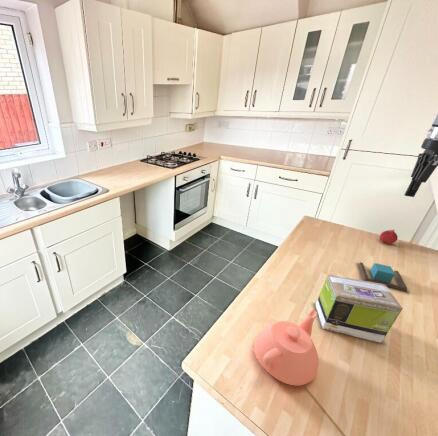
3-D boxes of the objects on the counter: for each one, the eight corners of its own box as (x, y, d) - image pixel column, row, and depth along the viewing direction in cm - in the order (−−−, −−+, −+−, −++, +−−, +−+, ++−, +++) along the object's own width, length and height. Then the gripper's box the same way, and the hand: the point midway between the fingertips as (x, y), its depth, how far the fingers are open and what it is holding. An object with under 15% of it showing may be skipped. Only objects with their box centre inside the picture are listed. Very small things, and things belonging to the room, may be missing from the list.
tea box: (366, 317, 79) (387, 283, 72) (380, 344, 70) (405, 309, 63) (313, 305, 83) (328, 272, 76) (321, 330, 75) (337, 295, 68)
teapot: (280, 321, 78) (290, 293, 72) (332, 359, 67) (348, 330, 61) (235, 358, 68) (242, 329, 62) (287, 410, 57) (302, 381, 51)
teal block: (369, 272, 97) (374, 262, 95) (385, 276, 95) (391, 266, 93) (372, 280, 93) (377, 270, 91) (388, 284, 91) (395, 274, 89)
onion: (381, 246, 112) (389, 231, 109) (374, 239, 117) (381, 225, 114) (396, 248, 111) (404, 233, 107) (388, 241, 116) (396, 226, 112)
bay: (357, 265, 101) (359, 262, 100) (395, 274, 96) (398, 271, 95) (363, 282, 93) (365, 278, 92) (405, 293, 87) (407, 289, 86)
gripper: (419, 135, 99) (392, 189, 110) (433, 141, 89) (402, 199, 100) (445, 136, 96) (415, 192, 107) (462, 142, 86) (427, 203, 97)
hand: (409, 195), depth 103 cm, fingers closed
